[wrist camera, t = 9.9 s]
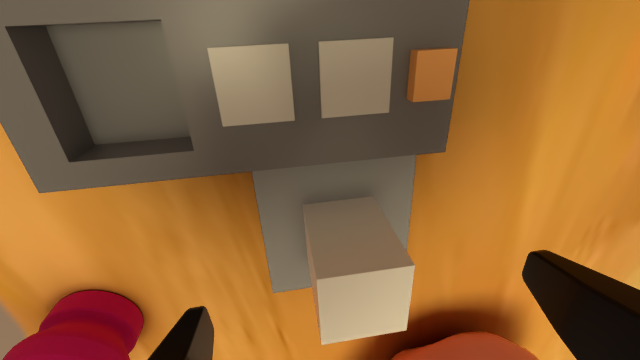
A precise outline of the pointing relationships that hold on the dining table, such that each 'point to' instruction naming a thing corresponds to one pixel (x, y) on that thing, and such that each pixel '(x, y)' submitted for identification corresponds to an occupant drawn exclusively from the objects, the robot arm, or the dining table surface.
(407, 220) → the mat
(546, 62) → the dining table surface
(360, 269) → the block
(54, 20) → the power strip
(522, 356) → the cell model
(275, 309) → the dining table surface
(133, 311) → the pepper mill
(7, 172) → the dining table surface
